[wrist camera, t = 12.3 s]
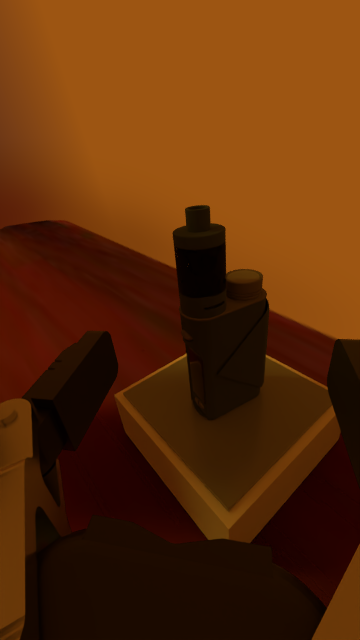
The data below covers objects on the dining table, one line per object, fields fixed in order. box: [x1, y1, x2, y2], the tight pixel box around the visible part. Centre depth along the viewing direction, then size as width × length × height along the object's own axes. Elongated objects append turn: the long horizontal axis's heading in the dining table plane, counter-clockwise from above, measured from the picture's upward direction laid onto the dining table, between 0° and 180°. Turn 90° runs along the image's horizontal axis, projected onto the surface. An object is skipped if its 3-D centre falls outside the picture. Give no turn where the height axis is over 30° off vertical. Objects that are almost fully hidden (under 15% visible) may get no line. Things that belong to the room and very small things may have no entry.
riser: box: [114, 354, 341, 543], centre depth 20 cm, size 11×11×4 cm
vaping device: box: [173, 205, 269, 420], centre depth 16 cm, size 3×5×12 cm, turn 118°
